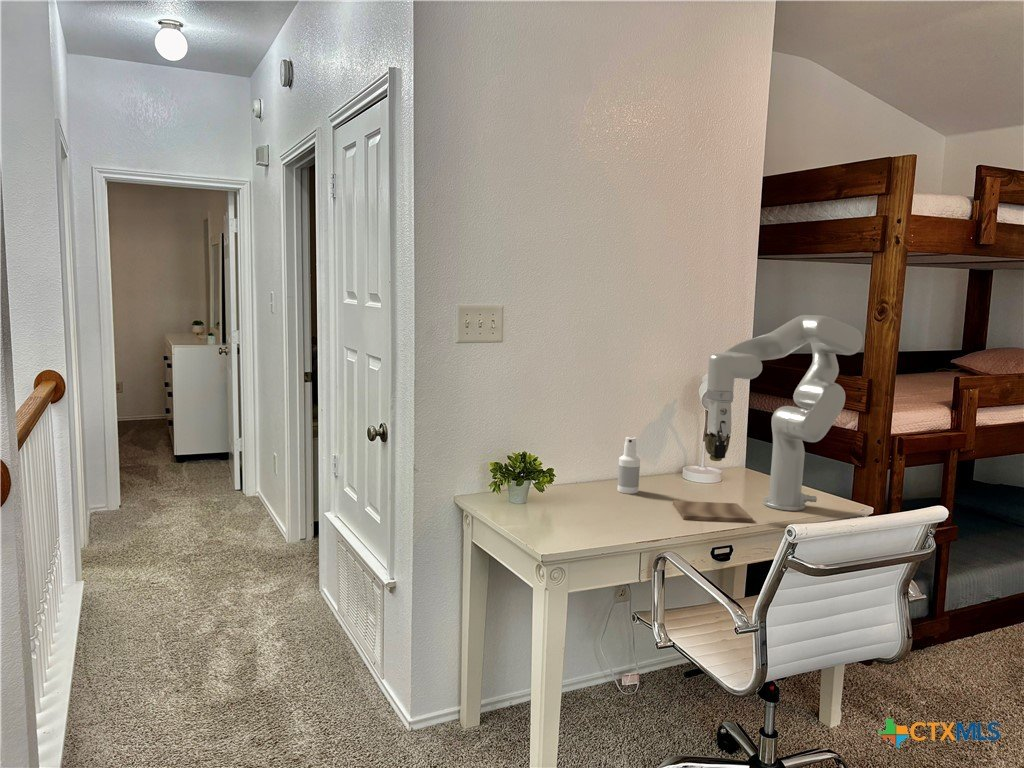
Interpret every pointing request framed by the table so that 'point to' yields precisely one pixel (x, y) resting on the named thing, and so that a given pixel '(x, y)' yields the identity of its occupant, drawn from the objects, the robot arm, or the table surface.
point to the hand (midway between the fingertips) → (716, 454)
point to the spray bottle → (629, 468)
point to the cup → (710, 443)
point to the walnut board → (712, 511)
